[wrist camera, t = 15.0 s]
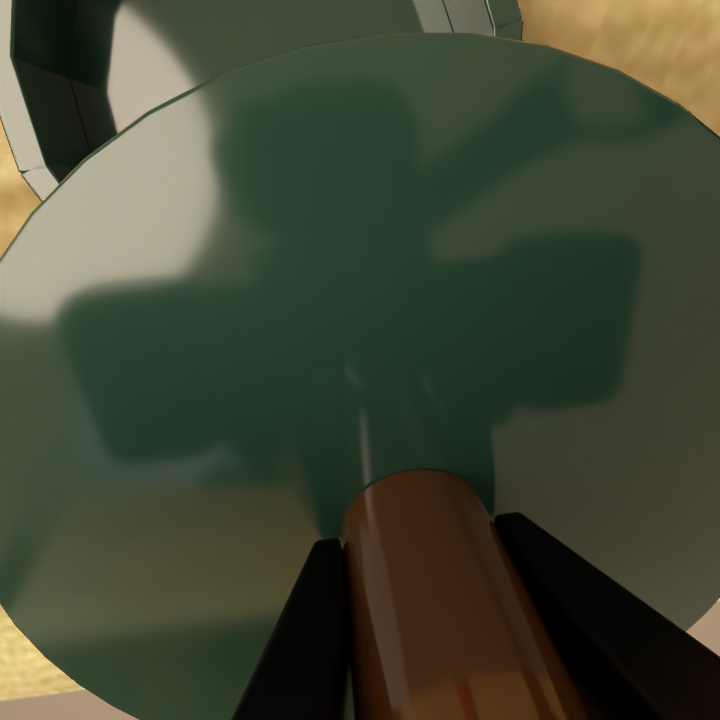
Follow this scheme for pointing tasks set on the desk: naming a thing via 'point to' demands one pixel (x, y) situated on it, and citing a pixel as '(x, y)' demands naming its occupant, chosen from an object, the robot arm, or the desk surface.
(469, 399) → the lid
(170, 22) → the ring
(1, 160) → the desk surface
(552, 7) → the desk surface
